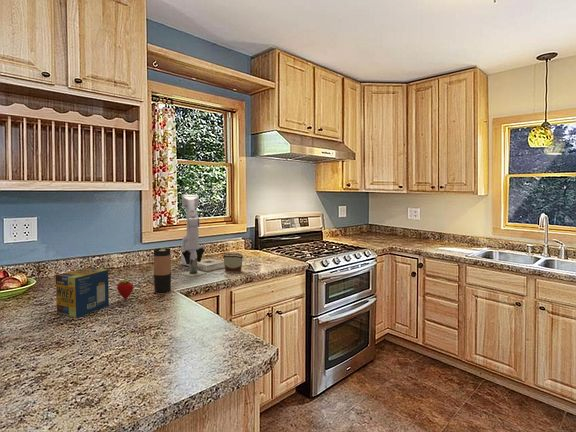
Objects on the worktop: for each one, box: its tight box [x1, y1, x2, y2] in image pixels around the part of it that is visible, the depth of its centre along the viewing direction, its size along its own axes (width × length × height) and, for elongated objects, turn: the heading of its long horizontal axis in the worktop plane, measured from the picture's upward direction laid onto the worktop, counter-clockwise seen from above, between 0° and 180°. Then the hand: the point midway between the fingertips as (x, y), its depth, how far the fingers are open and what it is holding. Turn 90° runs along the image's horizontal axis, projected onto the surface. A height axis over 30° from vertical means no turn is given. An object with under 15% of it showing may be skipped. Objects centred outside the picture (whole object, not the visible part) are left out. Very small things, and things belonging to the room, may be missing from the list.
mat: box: [180, 270, 207, 278], centre depth 200 cm, size 10×10×1 cm
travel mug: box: [153, 247, 172, 294], centre depth 166 cm, size 8×8×20 cm
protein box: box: [55, 266, 110, 319], centre depth 140 cm, size 10×15×16 cm
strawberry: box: [116, 278, 134, 300], centre depth 154 cm, size 6×8×10 cm
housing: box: [197, 258, 225, 273], centre depth 215 cm, size 14×14×4 cm
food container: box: [222, 252, 245, 273], centre depth 208 cm, size 12×6×10 cm, turn 83°
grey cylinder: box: [188, 257, 198, 274], centre depth 200 cm, size 4×4×8 cm
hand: (193, 262), depth 199 cm, fingers open, 7 cm apart
